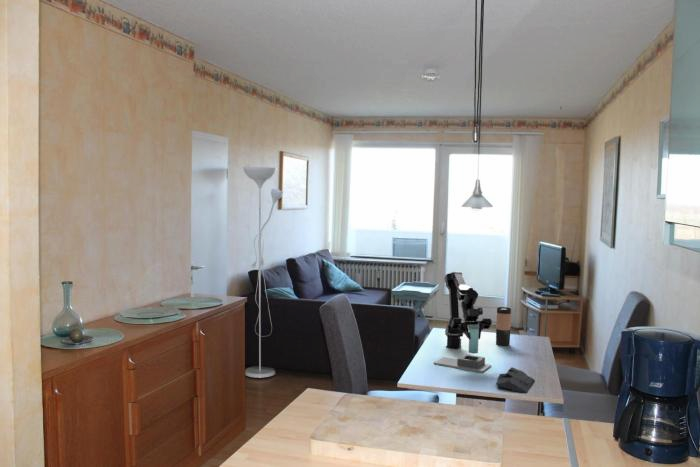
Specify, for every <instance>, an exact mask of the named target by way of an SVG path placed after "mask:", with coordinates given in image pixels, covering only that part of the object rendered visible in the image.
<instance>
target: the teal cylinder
mask: <svg viewBox="0 0 700 467" xmlns="http://www.w3.org/2000/svg"><path fill="white" fill-rule="evenodd" d="M468 330H469V334H470V339H468V353H469V354H472V355H474V354H478V353H479V340H480V339H479V325H477V324H469V325H468Z"/></svg>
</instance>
